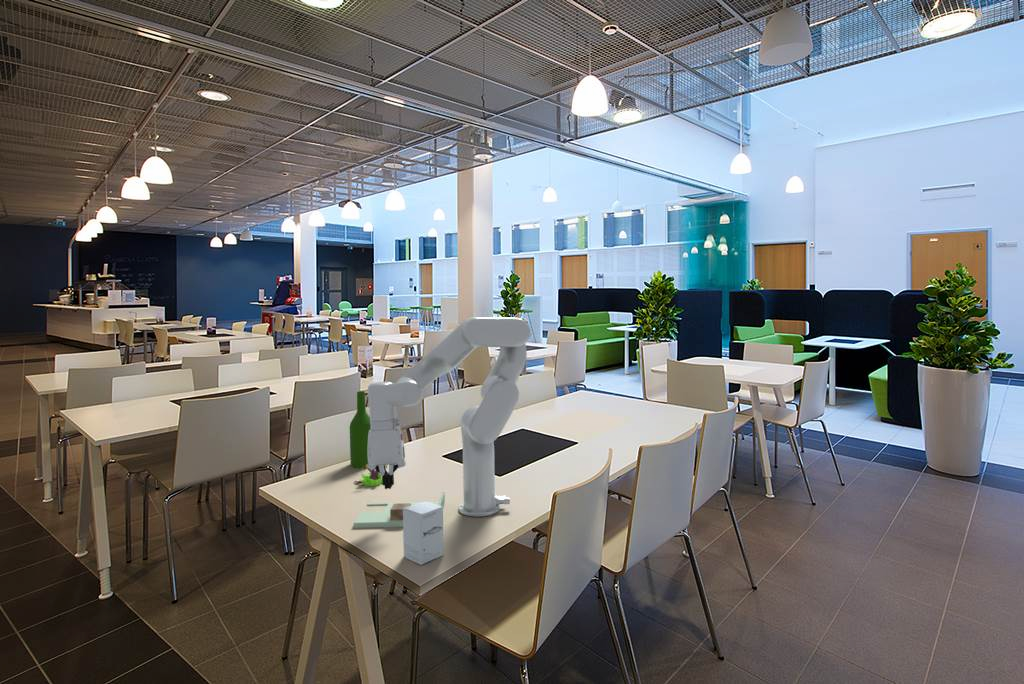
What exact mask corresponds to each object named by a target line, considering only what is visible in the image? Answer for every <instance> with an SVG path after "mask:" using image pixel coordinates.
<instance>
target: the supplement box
mask: <svg viewBox="0 0 1024 684" xmlns="http://www.w3.org/2000/svg"><path fill="white" fill-rule="evenodd" d="M420 502H421V503H418V504H415V505H412V506H408V507H405V508H403V527H402V528H403V530H402V534H403V536H402V537H403V558H405V559H406V560H407V559H408V560H409V561H411V562H413V563H416V564H418V565H420V566H423V565H424V564H427V563H428V562H431V561H433V560H435V559H438V558H440V557H442V556H444V551H445V550H444V549H445V548H444V547H445V546H444V539H445V538H444V508H443V506H440V505H437V504H434V503H430V502H431V501H427V500H424V501H420Z"/></svg>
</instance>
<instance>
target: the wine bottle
mask: <svg viewBox="0 0 1024 684" xmlns="http://www.w3.org/2000/svg"><path fill="white" fill-rule="evenodd" d="M369 430H371V426H370V414H368V413H367V408H366V391H363V390H362V391H360V390H359V391H357V392H356V413H355V414H354V417H353V418H352V420H351V422H350V424H349V450H350V451H349V452H350V454H349V455H350V456H349V457H350V460H349V461H350V467H351V468H354V469H362V467H363V466H366V464H367V463H368V455H367V448H368V433H369Z"/></svg>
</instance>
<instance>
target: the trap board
mask: <svg viewBox="0 0 1024 684" xmlns="http://www.w3.org/2000/svg"><path fill="white" fill-rule="evenodd" d="M445 494H446V493H445V491H443V492H441V493H440V497H439V501H429V502H430V503H434V504H437V505H440V506H443V509H444V507H445V505H446V504H445V503H446V501H445V500H446V498H445V496H446V495H445ZM421 502H422V501H417V502H416V501H411V502H405V503H411V506H412V505H415V504H418V503H421ZM399 503H400V502H374V503H373V502H370V503H369V502H367V503H366V506H367V507H373V506H376V507H377V506H385V508H384V510H380V511H379V510H378V511H377V510H376V511H375V510H374V511H373V510H372V511H361V512H360V513H359V515H358V516H357V518H356V519H355V520H354V522H353V528H354V529H355V528H357V529H358V528H359V529H360V528H362V529H363V528H396V527H397V528H398V527H399V528H401V527H402V528H403V520H390V509H391V507H392V506H393V504H399Z"/></svg>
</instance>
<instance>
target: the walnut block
mask: <svg viewBox="0 0 1024 684" xmlns="http://www.w3.org/2000/svg"><path fill="white" fill-rule="evenodd" d="M398 503H399V504H393V506H392V507H391V509H390V520H403V508H405V507H408V506H411V503H406V502H398Z"/></svg>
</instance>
